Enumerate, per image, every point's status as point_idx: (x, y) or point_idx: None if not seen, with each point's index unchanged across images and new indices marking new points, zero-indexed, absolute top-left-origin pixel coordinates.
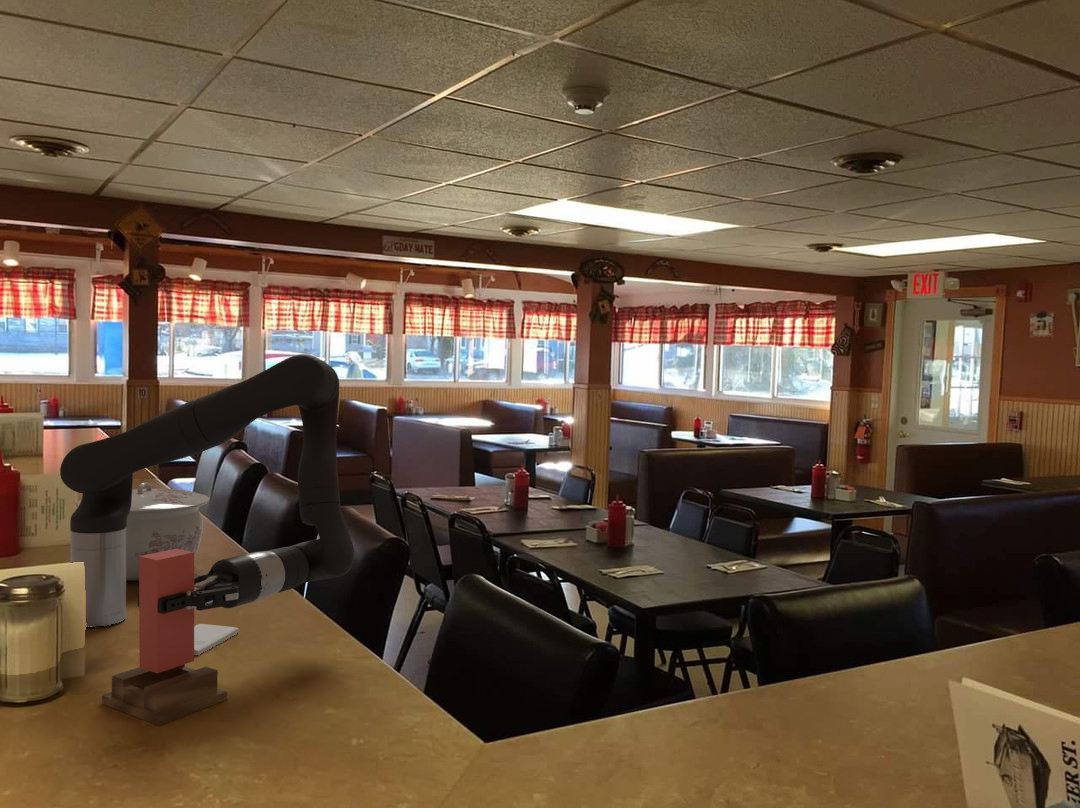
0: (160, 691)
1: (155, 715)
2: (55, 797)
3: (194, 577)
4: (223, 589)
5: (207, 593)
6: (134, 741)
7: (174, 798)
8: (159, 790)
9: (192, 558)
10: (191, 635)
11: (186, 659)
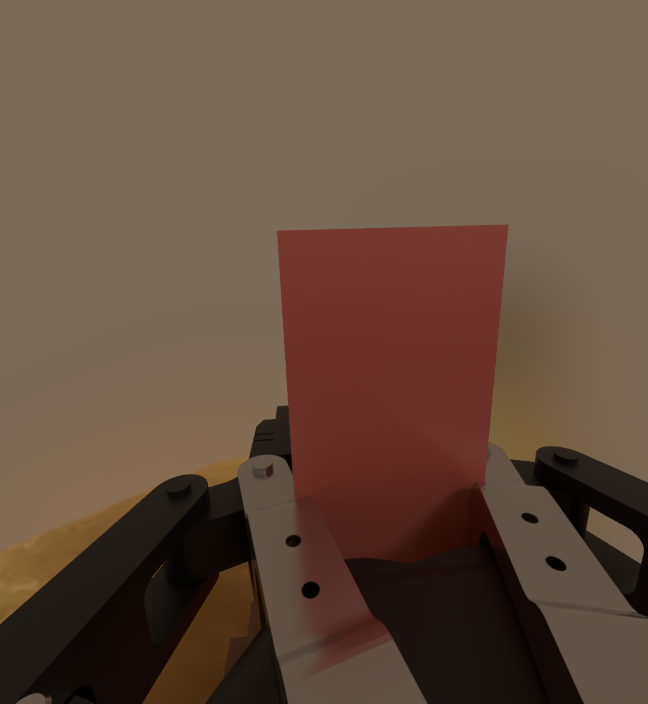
0: (250, 617)
1: (247, 637)
2: (194, 473)
3: (559, 588)
4: (13, 631)
5: (130, 513)
6: (223, 583)
7: (35, 537)
8: (70, 535)
9: (282, 283)
10: None
11: None
